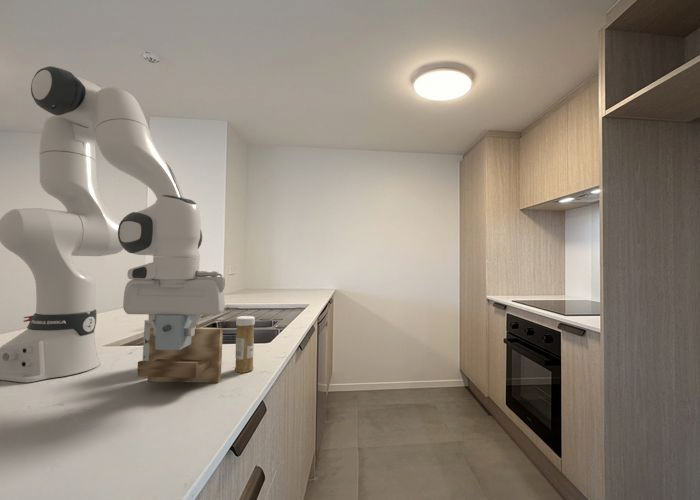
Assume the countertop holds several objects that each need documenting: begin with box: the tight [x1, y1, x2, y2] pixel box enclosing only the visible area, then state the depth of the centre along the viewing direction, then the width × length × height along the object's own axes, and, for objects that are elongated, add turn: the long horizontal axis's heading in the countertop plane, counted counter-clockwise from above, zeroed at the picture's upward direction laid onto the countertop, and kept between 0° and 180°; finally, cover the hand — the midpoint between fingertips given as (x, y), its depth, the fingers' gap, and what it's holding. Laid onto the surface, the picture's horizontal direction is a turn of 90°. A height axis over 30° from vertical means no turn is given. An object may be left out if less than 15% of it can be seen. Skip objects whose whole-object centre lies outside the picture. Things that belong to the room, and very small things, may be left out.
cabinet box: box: [155, 315, 192, 350], centre depth 69 cm, size 5×6×7 cm
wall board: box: [136, 326, 224, 384], centre depth 71 cm, size 16×8×12 cm, turn 90°
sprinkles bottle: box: [234, 315, 256, 374], centre depth 83 cm, size 5×5×14 cm
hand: (174, 335), depth 70 cm, fingers closed on cabinet box, 5 cm apart
